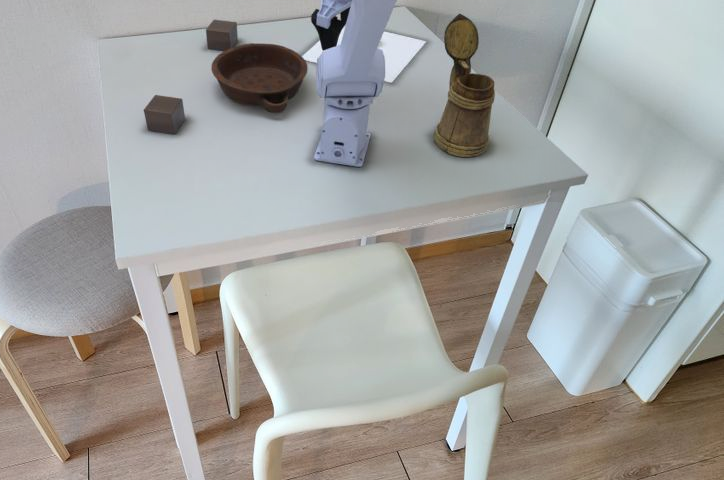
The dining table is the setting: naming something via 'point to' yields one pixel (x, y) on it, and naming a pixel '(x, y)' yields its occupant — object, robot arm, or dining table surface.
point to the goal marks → (170, 110)
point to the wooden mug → (465, 95)
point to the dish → (260, 74)
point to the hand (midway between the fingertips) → (337, 37)
